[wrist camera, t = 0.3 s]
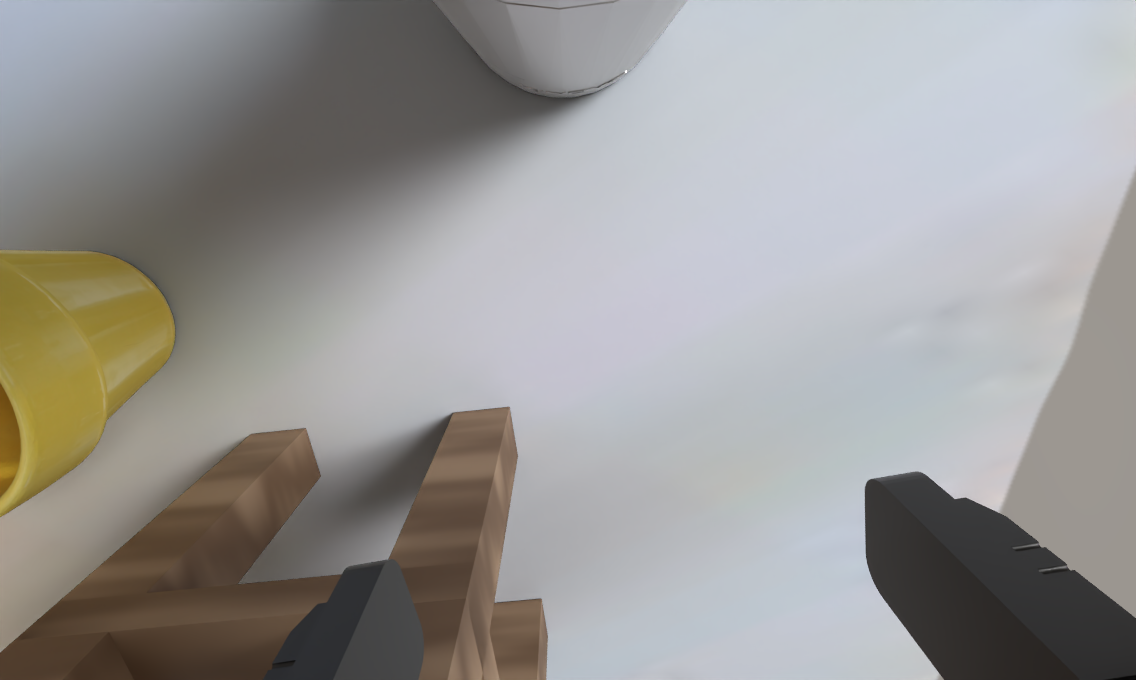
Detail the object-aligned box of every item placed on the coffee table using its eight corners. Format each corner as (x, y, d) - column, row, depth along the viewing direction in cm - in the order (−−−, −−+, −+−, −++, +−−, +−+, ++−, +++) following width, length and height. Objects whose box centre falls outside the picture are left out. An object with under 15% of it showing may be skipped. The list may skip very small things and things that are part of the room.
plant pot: (136, 448, 28) (-71, 588, 19) (-43, 308, 26) (-384, 391, 16) (259, 331, 26) (92, 424, 17) (77, 165, 24) (-237, 168, 14)
